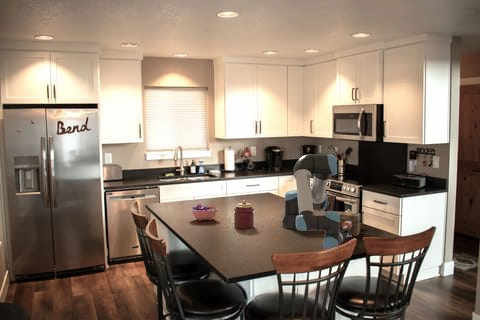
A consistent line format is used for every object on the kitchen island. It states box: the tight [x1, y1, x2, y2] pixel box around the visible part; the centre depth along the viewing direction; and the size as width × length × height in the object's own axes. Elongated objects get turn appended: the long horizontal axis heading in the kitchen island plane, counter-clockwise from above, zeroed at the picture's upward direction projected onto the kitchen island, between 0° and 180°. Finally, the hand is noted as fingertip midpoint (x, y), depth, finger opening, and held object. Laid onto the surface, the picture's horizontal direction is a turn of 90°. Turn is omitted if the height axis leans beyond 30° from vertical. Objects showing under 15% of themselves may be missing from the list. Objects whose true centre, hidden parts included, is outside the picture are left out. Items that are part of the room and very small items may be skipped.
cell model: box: [189, 203, 219, 222], centre depth 300 cm, size 17×20×11 cm
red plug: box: [341, 220, 353, 229], centre depth 259 cm, size 5×13×5 cm, turn 154°
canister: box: [233, 199, 255, 230], centre depth 280 cm, size 13×13×18 cm
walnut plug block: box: [323, 210, 361, 237], centre depth 268 cm, size 20×8×12 cm, turn 64°
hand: (346, 227), depth 252 cm, fingers closed
